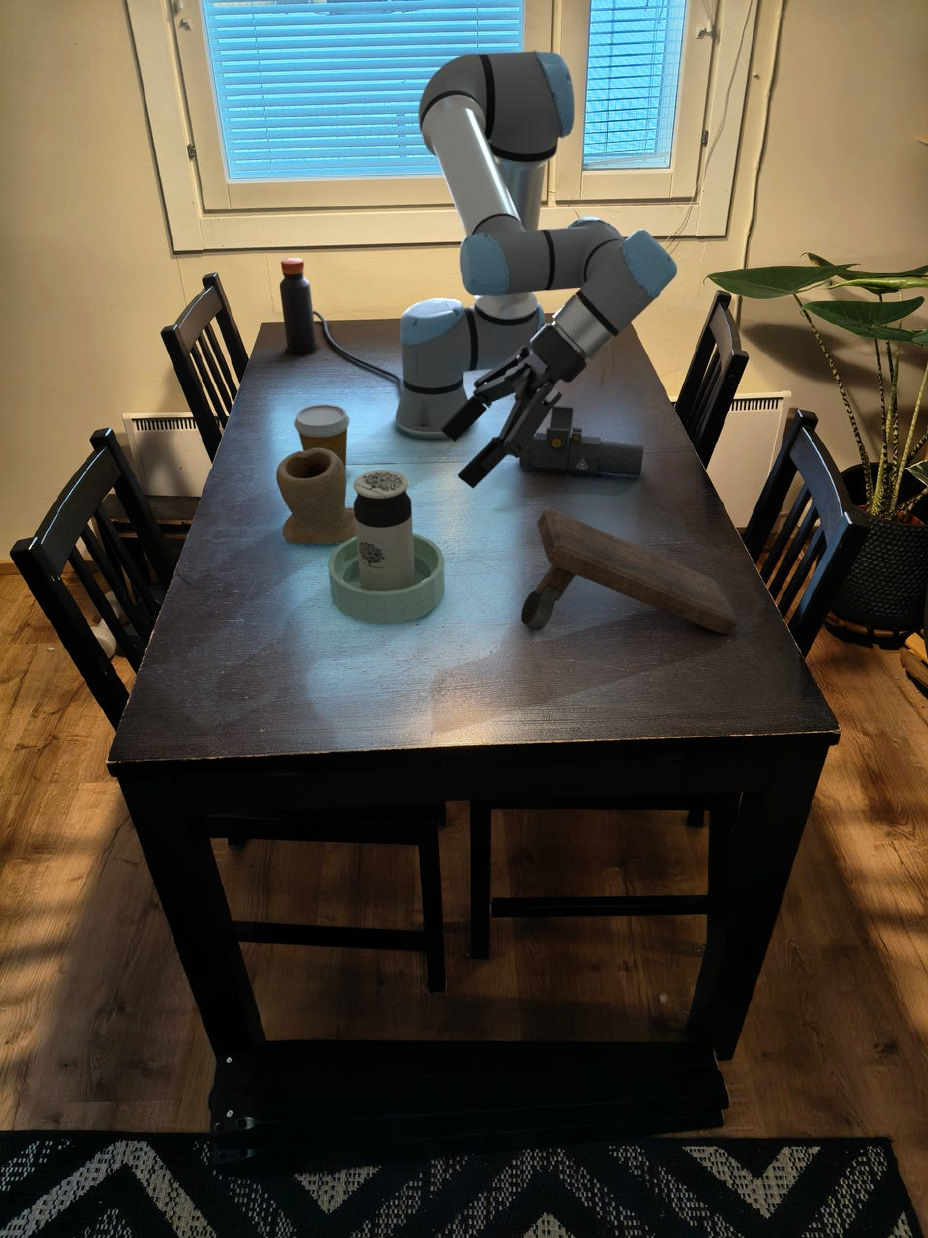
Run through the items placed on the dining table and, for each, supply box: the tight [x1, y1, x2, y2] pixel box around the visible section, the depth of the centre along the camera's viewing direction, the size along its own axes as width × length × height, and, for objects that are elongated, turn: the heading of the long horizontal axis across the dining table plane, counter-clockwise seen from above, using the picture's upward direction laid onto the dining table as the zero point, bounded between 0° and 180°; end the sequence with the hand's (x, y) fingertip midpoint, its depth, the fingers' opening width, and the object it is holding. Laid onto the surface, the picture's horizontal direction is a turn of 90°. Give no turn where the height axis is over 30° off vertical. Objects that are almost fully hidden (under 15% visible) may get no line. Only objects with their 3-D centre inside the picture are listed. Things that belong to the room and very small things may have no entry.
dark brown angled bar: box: [520, 507, 739, 635], centre depth 128 cm, size 10×16×30 cm
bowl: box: [327, 532, 446, 626], centre depth 134 cm, size 17×17×6 cm
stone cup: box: [275, 448, 356, 546], centre depth 144 cm, size 15×12×15 cm
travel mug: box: [353, 469, 415, 591], centre depth 130 cm, size 8×8×18 cm
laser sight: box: [517, 405, 645, 477], centre depth 163 cm, size 10×22×10 cm, turn 79°
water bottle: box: [279, 257, 318, 355], centre depth 208 cm, size 7×7×20 cm
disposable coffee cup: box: [293, 403, 351, 471], centre depth 161 cm, size 10×10×12 cm
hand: (455, 457), depth 124 cm, fingers open, 13 cm apart
